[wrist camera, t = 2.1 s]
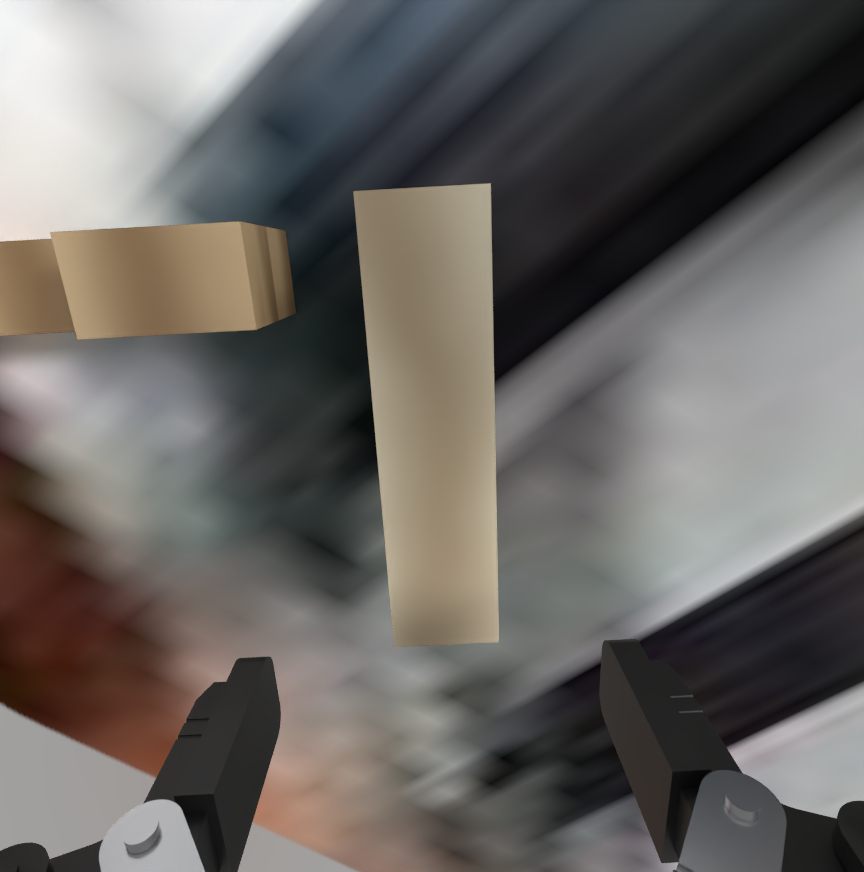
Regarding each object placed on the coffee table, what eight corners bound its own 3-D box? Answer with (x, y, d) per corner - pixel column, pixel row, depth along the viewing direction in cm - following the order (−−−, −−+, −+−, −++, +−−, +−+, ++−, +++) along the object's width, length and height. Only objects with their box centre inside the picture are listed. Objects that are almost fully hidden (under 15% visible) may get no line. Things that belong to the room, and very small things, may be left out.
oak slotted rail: (285, 230, 23) (240, 221, 18) (296, 313, 25) (256, 329, 19) (-128, 253, 24) (-305, 252, 18) (-99, 334, 25) (-257, 357, 19)
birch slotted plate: (464, 214, 23) (491, 183, 14) (474, 510, 28) (498, 642, 18) (383, 219, 23) (353, 191, 14) (405, 513, 28) (394, 647, 18)
